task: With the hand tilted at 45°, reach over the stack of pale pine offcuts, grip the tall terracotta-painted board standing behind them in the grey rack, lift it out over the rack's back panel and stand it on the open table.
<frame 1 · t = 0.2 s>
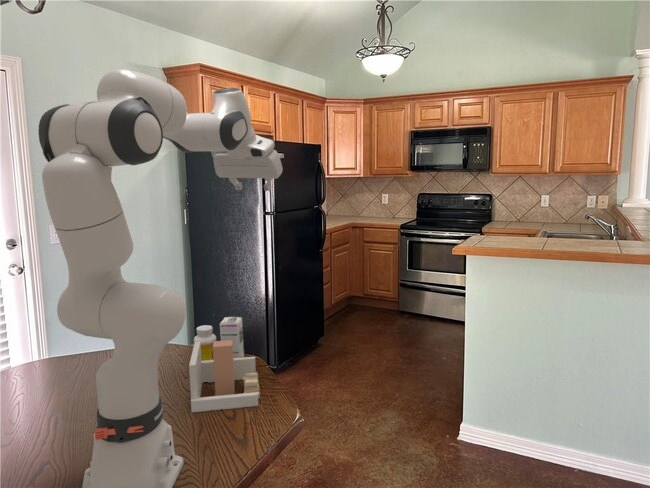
hand: (253, 189, 138), 54 cm above the table, tool tilted 25°, fingers open, 8 cm apart
offcut rack: (225, 392, 127), on the table
tall board: (225, 392, 127), on the table
supplement bottle: (206, 368, 142), on the table
offcut stack: (251, 392, 127), on the table
syrup box: (233, 365, 145), on the table
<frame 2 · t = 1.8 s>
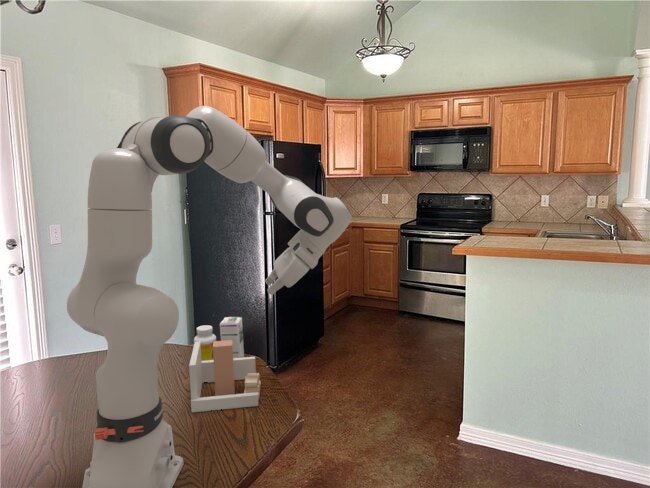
hand: (267, 288, 124), 28 cm above the table, tool tilted 45°, fingers open, 8 cm apart
nothing on the table moved.
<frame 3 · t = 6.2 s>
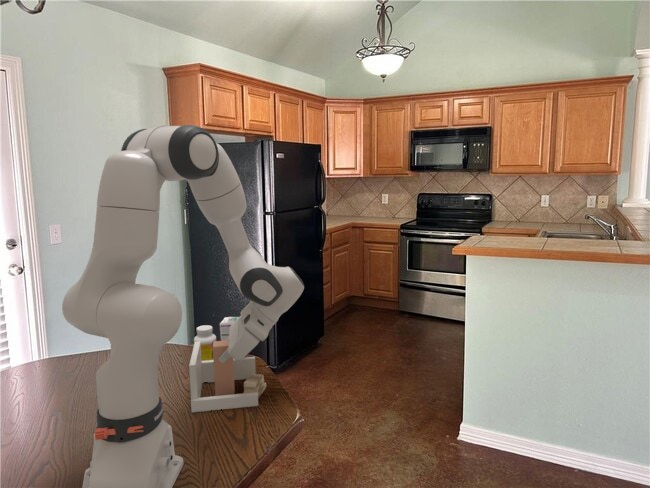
hand: (221, 356, 125), 10 cm above the table, tool tilted 45°, fingers closed on tall board, 4 cm apart
tall board: (225, 392, 127), on the table, touching gripper
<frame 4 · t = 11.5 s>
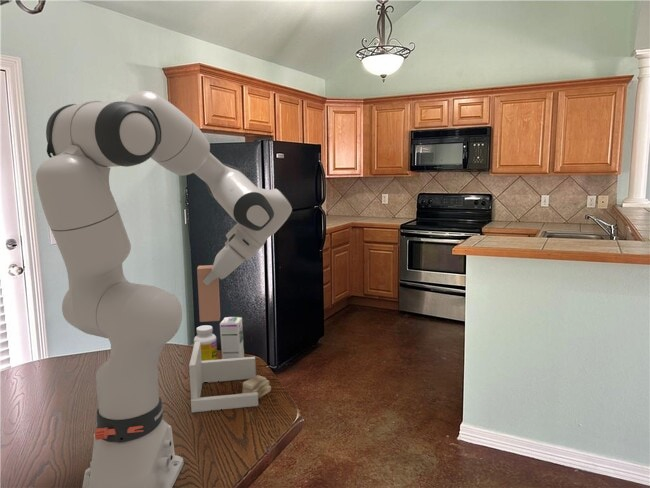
hand: (205, 280, 121), 31 cm above the table, tool tilted 45°, fingers closed on tall board, 4 cm apart
tall board: (210, 318, 123), point 21 cm above the table, touching gripper
offcut stack: (255, 395, 125), on the table
everything else where it was.
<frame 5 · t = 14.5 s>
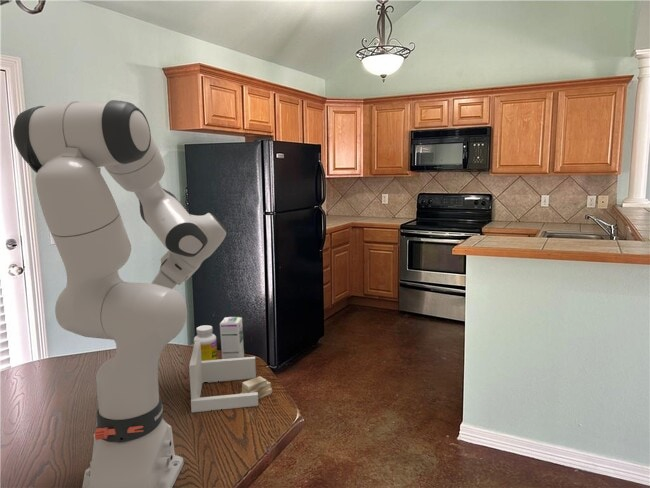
hand: (142, 303, 124), 25 cm above the table, tool tilted 45°, fingers closed on tall board, 4 cm apart
tall board: (147, 340, 126), point 15 cm above the table, touching gripper
when the fingers open (12 cm above the table, at t = 17.1 s): tall board drops 2 cm, on the table.
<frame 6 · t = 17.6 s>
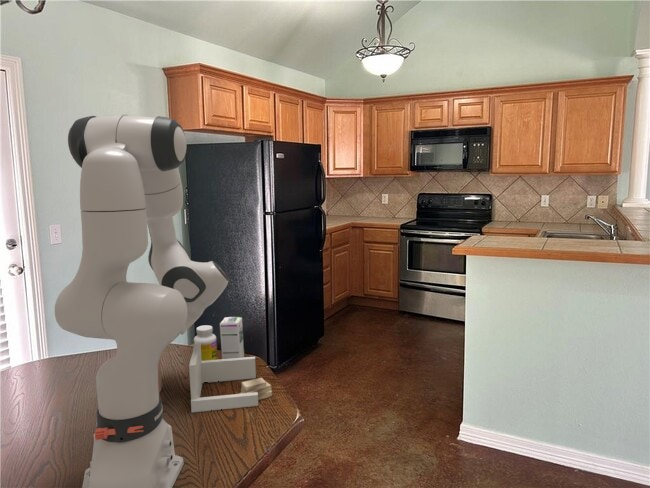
hand: (145, 350, 126), 12 cm above the table, tool tilted 45°, fingers open, 8 cm apart
tall board: (151, 390, 128), on the table
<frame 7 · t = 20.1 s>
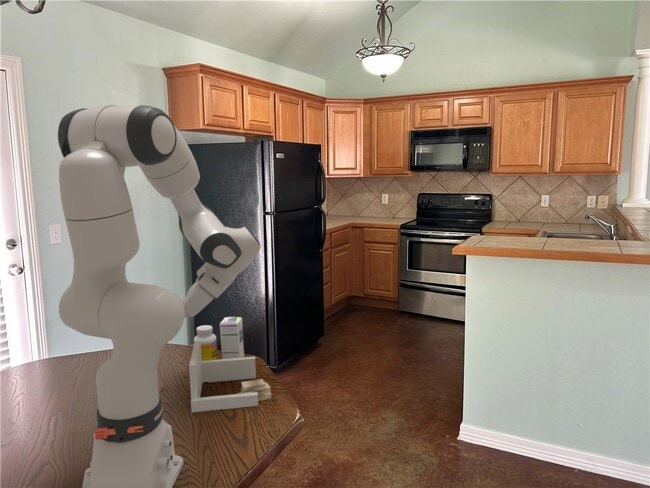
hand: (177, 315, 126), 21 cm above the table, tool tilted 45°, fingers open, 8 cm apart
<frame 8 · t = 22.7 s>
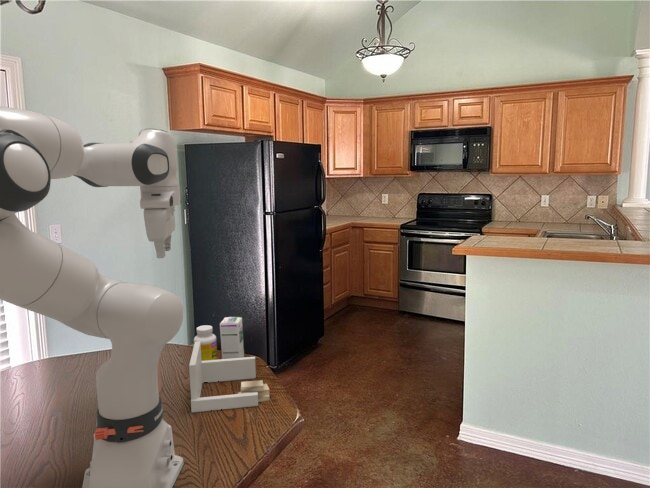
hand: (164, 254, 116), 39 cm above the table, tool pointing down, fingers open, 8 cm apart
at the end: tall board inside the target area (0.0 cm from its centre), on the table; tall board tilted 0°; offcut stack moved 4.0 cm from its start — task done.
